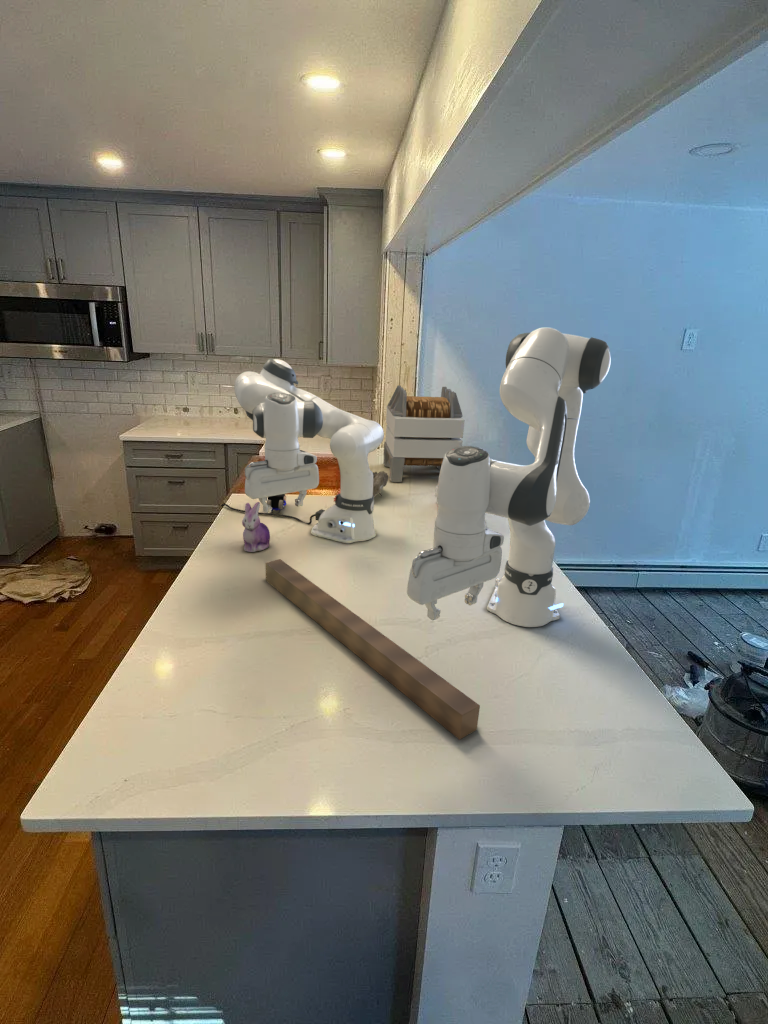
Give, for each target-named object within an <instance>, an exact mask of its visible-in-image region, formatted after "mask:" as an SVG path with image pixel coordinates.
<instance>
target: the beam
mask: <svg viewBox="0 0 768 1024" xmlns="http://www.w3.org/2000/svg"><path fill="white" fill-rule="evenodd" d="M264 567H265V568H264V569H265V581H266V583H268V584H269V585H270V586H272V587H273V588H274V589H275V590H277V591H278V592H279V593H280V594H281V595H283V597H285V598H286V599H288V600H289V601H290V602H291V603H292V604H294V605H295V606H296V607H297V608H298V609H300V610H301V611H302V612H303V613H304V614H306V616H308V617H310V618H311V619H312V620H313V621H314V622H316V623H317V624H318V625H319V626H321V627H322V628H323V629H324V630H325V631H326V632H327V633H329V634H330V635H331V636H332V637H334V638H335V639H336V640H337V641H339V642H340V643H341V644H342V645H344V646H345V647H346V648H347V649H348V650H349V651H351V652H352V653H353V654H354V655H356V656H357V657H358V658H360V660H362V661H363V662H364V663H365V664H367V666H369V667H370V668H371V669H372V670H374V671H375V672H376V673H377V674H379V675H380V676H381V677H382V678H383V679H385V680H386V681H387V682H388V683H390V684H391V685H392V686H393V687H395V688H396V689H397V690H398V691H400V692H401V693H402V694H403V695H404V696H406V698H408V699H409V700H410V701H412V702H413V703H414V705H415V704H416V705H417V707H419V708H420V709H421V710H422V711H423V712H425V713H426V714H427V715H428V716H430V717H431V718H432V719H434V721H436V722H437V723H438V724H439V725H440V726H442V727H443V728H445V730H447V731H448V732H449V733H451V734H452V735H453V736H454V737H455V738H457V739H458V740H459V741H461V740H463V738H465V737H467V736H468V735H470V734H472V733H474V732H476V731H477V730H478V726H479V725H478V724H479V716H480V708H481V705H480V704H479V703H477V702H476V701H474V700H473V699H472V698H470V697H469V696H468V695H466V694H465V693H464V692H463V691H461V690H460V689H458V688H457V687H456V686H454V685H453V684H451V683H450V682H449V681H447V680H446V679H445V678H443V676H440V675H439V674H438V673H437V672H435V671H434V670H433V669H431V668H429V666H427V665H426V664H424V663H423V662H422V661H420V660H418V659H417V658H416V657H414V656H413V655H412V654H411V653H409V652H408V651H406V650H405V649H404V648H402V647H401V646H399V644H397V643H396V642H395V641H393V640H391V639H390V638H389V637H387V636H386V635H384V634H383V633H382V632H380V631H379V630H378V629H377V628H375V627H374V626H372V625H371V624H370V623H368V622H367V621H365V620H364V619H363V618H362V617H360V616H359V615H357V614H356V613H354V612H353V611H352V610H350V609H349V608H348V607H347V606H345V605H344V604H342V603H341V602H340V601H338V600H337V599H335V598H334V597H333V596H331V595H330V594H329V593H328V592H326V591H325V590H324V589H322V588H320V587H319V586H317V585H316V584H315V583H314V582H312V581H311V580H309V579H308V578H307V577H305V576H304V575H303V574H301V573H300V572H298V571H297V570H296V569H294V568H293V567H292V566H290V565H289V564H287V562H285V561H283V560H282V559H281V558H280V559H275V560H271V561H268V562H265V566H264Z"/></svg>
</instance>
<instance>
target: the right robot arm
mask: <svg viewBox="0 0 768 1024" xmlns="http://www.w3.org/2000/svg"><path fill="white" fill-rule="evenodd" d="M611 361H612V359H611V349H610V346H609V345H608V343H607V341H605V340H603V339H600V338H596V337H594V336H593V337H592V336H591V337H585V336H580V335H576V334H571V333H570V334H569V333H563V332H561V331H560V330H558V329H556V328H554V327H538V328H536V329H534V330H532V331H531V332H523V333H519V334H517V335H515V336H514V337H513V338H512V339H511V341H509V344H508V346H507V350H506V353H505V371H504V373H503V375H502V378H501V381H500V384H499V396H500V400H501V402H502V404H503V407H505V410H507V411H508V413H509V414H511V415H512V416H513V418H515V419H517V420H518V421H520V422H522V423H524V424H526V425H528V430H527V436H526V446H527V449H528V450H529V452H530V453H531V454H532V455H533V457H534V461H533V463H531V464H526V465H522V464H516V463H512V462H505V461H500V460H497V459H492V458H490V454H489V452H488V451H487V450H485V449H484V448H481V447H478V446H474V445H473V446H472V445H462V447H456V448H453V449H451V450H449V451H448V452H447V453H446V454H445V456H444V458H443V462H442V465H441V470H440V471H439V475H438V482H437V486H438V489H437V497H436V504H437V513H436V517H435V520H434V526H433V527H434V528H433V529H434V530H433V539H432V540H433V542H432V548H429V549H427V550H426V549H425V550H421V551H420V552H419V553H418V555H417V556H415V558H414V559H413V560H412V561H411V562H412V563H411V567H410V570H409V575H408V580H407V588H406V595H407V596H408V598H409V599H410V600H412V601H413V602H415V603H416V604H417V605H420V606H424V605H425V607H426V609H427V610H426V611H427V612H426V616H427V618H428V619H430V620H431V621H436V620H438V619H440V618H441V609H440V608H438V607H437V606H436V605H437V604H438V600H440V599H442V598H445V597H447V596H450V595H453V594H456V593H459V592H461V591H464V590H467V589H468V592H466V593H465V594H464V603H465V604H466V605H468V606H472V605H475V604H477V602H478V596H479V594H480V593H481V591H482V589H483V587H484V583H486V582H488V581H492V580H494V579H495V582H494V587H495V588H494V590H493V592H492V594H491V596H490V598H489V601H488V604H487V606H486V610H487V611H488V612H490V613H492V614H494V615H496V616H498V617H499V618H500V619H501V620H503V621H504V622H507V623H509V624H512V625H515V626H518V627H524V628H537V627H543V626H545V625H548V624H549V623H550V622H553V621H558V620H560V618H561V617H560V615H561V614H560V613H559V611H558V610H557V609H560V608H563V607H564V603H563V602H561V603H558V604H556V598H557V597H556V595H557V589H556V588H555V586H554V585H553V584H552V581H553V578H554V567H553V563H554V557H555V551H556V544H557V543H556V538H555V535H554V533H553V532H552V531H551V530H550V528H549V527H548V525H547V522H548V523H549V522H550V523H552V524H557V525H564V526H575V525H577V524H578V523H580V522H581V521H582V520H583V519H584V518H585V517H586V516H587V514H588V512H589V509H590V505H591V497H590V494H589V491H588V489H587V488H586V487H585V485H584V484H583V482H582V480H581V479H580V476H579V474H578V470H577V466H576V460H575V449H576V448H575V447H576V441H577V434H578V429H579V424H580V418H581V413H582V408H583V407H582V406H583V400H584V399H583V397H584V394H587V393H588V391H591V390H593V389H596V388H597V387H598V386H600V385H602V384H603V382H604V381H605V378H606V377H607V375H608V373H609V371H610V367H611V363H612V362H611ZM486 514H488V515H493V516H497V517H501V518H505V519H507V522H508V527H509V536H510V537H509V549H508V556H507V557H508V558H507V560H506V562H505V565H504V573H503V576H502V577H501V578H497V577H498V575H499V573H500V571H501V566H502V558H503V557H502V556H503V549H502V546H503V544H504V542H505V535H503V534H502V533H500V532H498V531H496V530H494V529H491V528H489V527H487V522H486ZM546 521H547V522H546Z"/></svg>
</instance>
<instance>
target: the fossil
mask: <svg viewBox="0 0 768 1024" xmlns="http://www.w3.org/2000/svg"><path fill="white" fill-rule="evenodd" d="M372 472H373V496H374V498H376V496H377V495H378V494H379V496H380V497H382V496H383V495H382V493H381V491H382V490H383V489H384V487H387V484H388V482H389V475H388V473H387V472H385V471H384V470H383V471H379V472H377V471H372Z"/></svg>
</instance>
